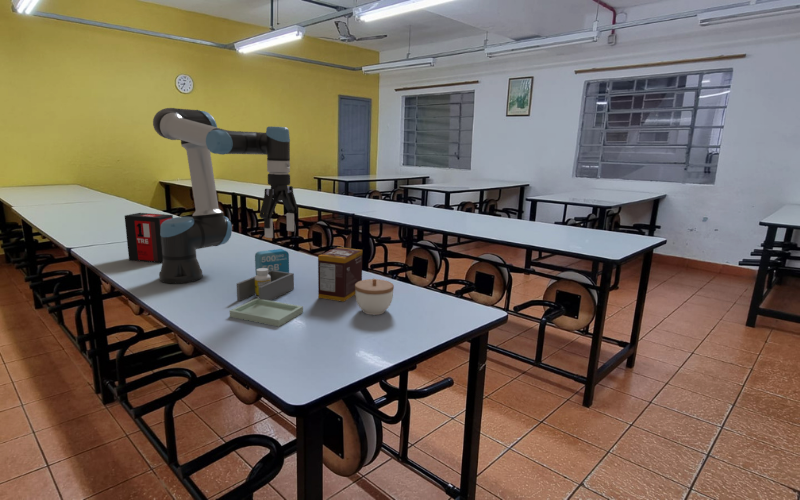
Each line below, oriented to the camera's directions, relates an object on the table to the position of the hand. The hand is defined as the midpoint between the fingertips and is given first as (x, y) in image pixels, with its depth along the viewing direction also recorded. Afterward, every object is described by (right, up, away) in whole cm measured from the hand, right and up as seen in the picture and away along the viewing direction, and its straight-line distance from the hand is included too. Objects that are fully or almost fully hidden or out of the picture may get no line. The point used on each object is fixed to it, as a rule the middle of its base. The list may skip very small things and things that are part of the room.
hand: (280, 234), depth 159 cm
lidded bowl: (+34, -26, -11) cm, 44 cm away
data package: (-8, -18, +18) cm, 26 cm away
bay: (-5, -21, +2) cm, 22 cm away
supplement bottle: (-6, -22, 0) cm, 23 cm away
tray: (0, -26, -17) cm, 31 cm away
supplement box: (+21, -22, +5) cm, 31 cm away
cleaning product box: (-68, -10, +42) cm, 81 cm away
